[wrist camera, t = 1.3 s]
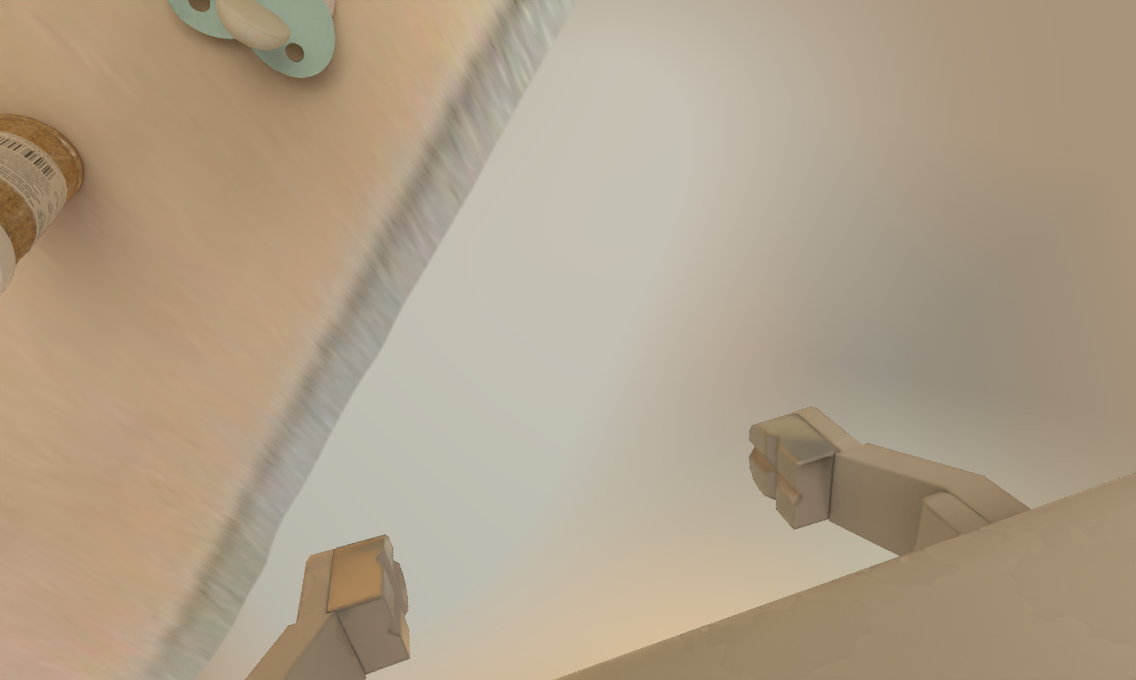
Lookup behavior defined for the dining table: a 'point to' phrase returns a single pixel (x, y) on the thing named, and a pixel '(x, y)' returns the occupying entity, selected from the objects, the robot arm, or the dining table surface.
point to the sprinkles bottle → (31, 185)
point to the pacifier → (270, 29)
